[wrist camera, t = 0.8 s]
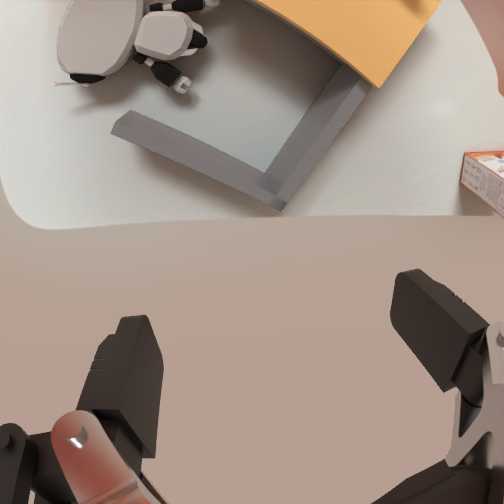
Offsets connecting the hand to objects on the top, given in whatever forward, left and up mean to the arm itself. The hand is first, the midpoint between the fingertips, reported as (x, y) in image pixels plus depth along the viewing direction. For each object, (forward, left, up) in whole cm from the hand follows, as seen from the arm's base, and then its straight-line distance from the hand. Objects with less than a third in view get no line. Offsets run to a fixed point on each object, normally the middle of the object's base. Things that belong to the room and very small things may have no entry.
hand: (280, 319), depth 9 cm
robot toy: (-13, +5, -27) cm, 30 cm away
